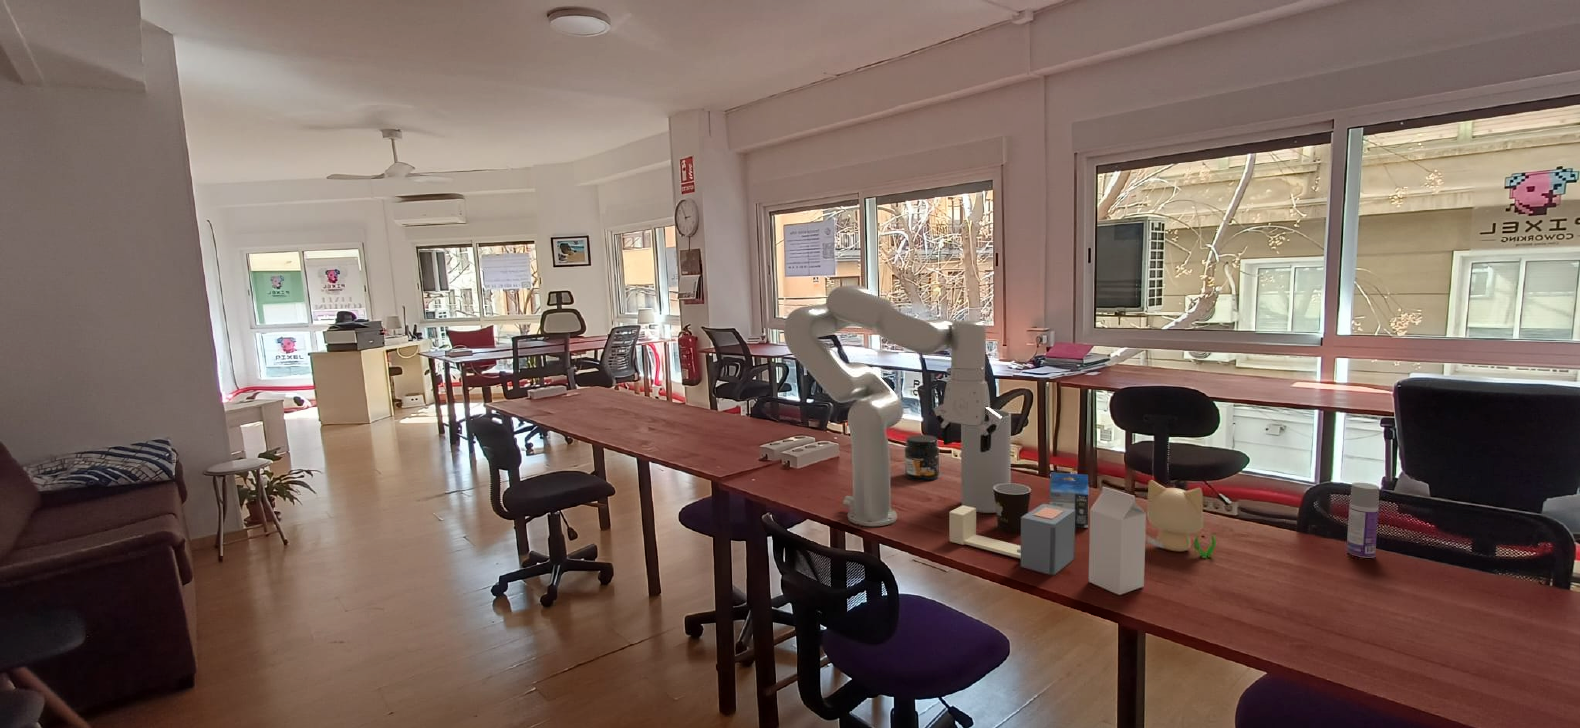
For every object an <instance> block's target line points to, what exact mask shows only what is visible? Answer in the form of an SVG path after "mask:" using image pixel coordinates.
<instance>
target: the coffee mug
mask: <svg viewBox="0 0 1580 728" xmlns="http://www.w3.org/2000/svg"><path fill="white" fill-rule="evenodd" d="M993 489H994V497H995V505H996V514H995V515H996V520H997V528H998V530H999V532H1003V533H1006V534H1013V535H1015V534H1016V535H1017V534H1021V517H1022V516H1024V515H1026V514H1027V513H1029V511H1030V510H1029V509H1030V502H1031V501H1030V500H1031V494H1032V489H1031V488H1030V487H1029V486H1027V485H1024V484H1020V483H1012V482H1010V483H1005V484H998V485H995V486H994V487H993Z"/></svg>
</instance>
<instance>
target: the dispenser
mask: <svg viewBox="0 0 1580 728" xmlns="http://www.w3.org/2000/svg"><path fill="white" fill-rule="evenodd" d="M1075 542H1076V527H1075V510H1072V509H1067V508H1062V507H1057V506H1053V505H1049V503H1048V504H1047V503H1042V504H1040V505H1039V506H1037V507H1035V508H1033V509H1032V510H1029V511H1028V513H1027V514H1026V515H1024V516H1022V517H1021V533H1020V546H1021V547H1020V548H1019V549H1017V552H1018V553H1021V559H1020V568H1025V569H1029V570H1032V571H1035V572H1038V573H1039V572H1040V573H1043V574H1046V575H1048V576H1049V575H1051V576H1052V577H1053V576H1055V575H1056V574H1057V573H1058V572H1060V571H1061V570H1062V569H1063V568H1064V567H1067V565H1068V564H1069V563H1071V562H1073V560H1074V559H1075V556H1076V555H1075V554H1076V553H1075V548H1076V547H1075V544H1076V543H1075Z"/></svg>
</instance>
